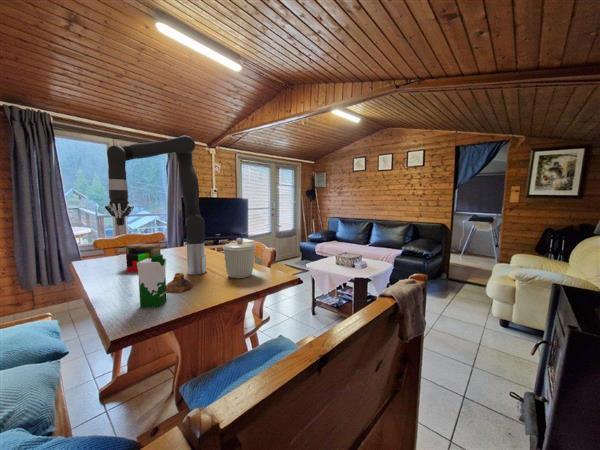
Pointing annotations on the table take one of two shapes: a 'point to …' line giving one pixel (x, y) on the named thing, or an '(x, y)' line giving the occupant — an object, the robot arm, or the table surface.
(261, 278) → the table surface
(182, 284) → the bell
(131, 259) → the puzzle toy
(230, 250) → the canister
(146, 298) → the milk carton
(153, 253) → the brown wooden box
